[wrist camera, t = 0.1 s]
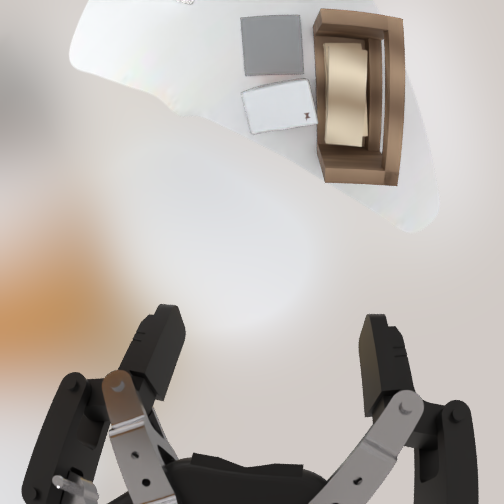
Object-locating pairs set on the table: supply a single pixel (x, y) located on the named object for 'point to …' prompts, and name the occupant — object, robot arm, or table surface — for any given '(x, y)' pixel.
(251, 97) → the skincare box
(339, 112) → the offcut stack
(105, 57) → the table surface
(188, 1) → the sitting furry creature
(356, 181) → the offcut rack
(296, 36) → the grey mat
